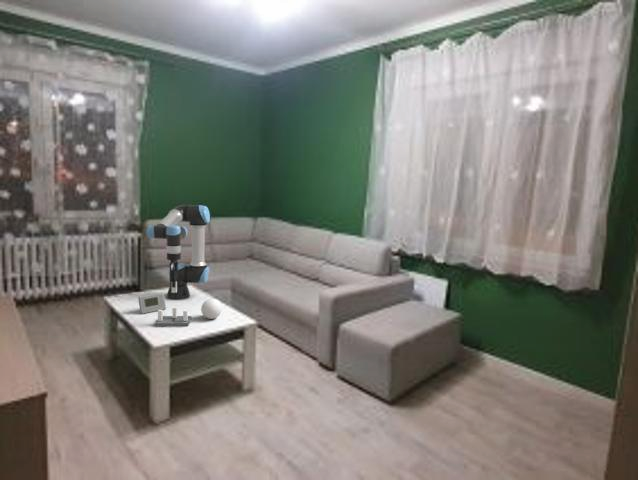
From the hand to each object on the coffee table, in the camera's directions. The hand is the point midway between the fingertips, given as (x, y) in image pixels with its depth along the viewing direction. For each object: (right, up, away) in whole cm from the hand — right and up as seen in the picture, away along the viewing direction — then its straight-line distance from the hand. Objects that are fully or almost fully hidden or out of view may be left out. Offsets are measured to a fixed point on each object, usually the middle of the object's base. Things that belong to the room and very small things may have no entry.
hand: (174, 292), depth 242 cm
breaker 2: (+7, -16, -1) cm, 18 cm away
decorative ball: (+19, -17, +11) cm, 28 cm away
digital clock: (-20, -14, +19) cm, 31 cm away
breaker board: (-1, -18, +1) cm, 18 cm away
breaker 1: (-7, -16, -3) cm, 18 cm away
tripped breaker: (-1, -15, +3) cm, 16 cm away
